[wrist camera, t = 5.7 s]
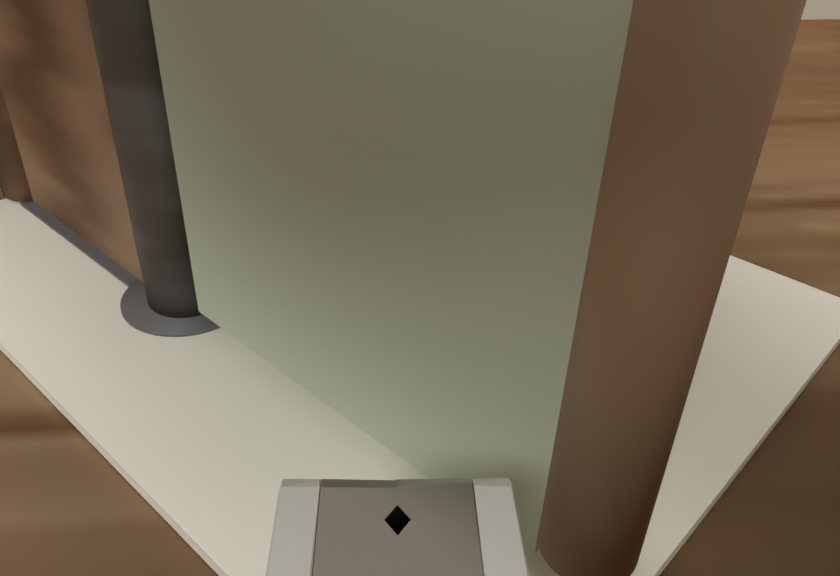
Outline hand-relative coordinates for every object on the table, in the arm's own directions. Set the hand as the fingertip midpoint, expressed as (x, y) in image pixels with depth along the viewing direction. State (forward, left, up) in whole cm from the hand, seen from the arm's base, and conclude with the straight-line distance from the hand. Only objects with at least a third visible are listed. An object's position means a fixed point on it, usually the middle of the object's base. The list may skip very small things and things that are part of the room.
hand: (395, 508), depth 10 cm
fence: (-19, +5, -6) cm, 20 cm away
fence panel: (-5, +5, -5) cm, 9 cm away
